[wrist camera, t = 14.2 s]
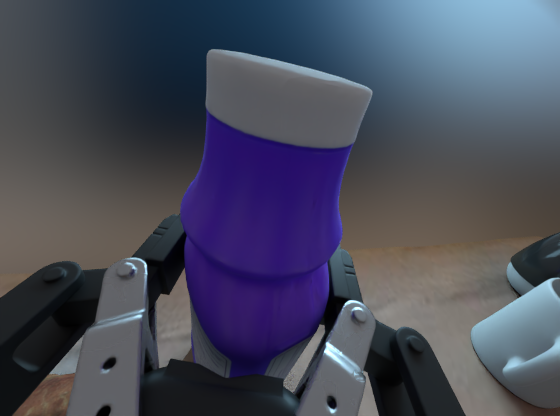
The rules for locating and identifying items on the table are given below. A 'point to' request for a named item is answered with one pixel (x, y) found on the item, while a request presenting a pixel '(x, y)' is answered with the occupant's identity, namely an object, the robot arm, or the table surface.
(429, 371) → the robot arm
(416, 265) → the table surface
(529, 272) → the pump dispenser
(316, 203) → the bottle
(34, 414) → the fossil
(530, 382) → the mug
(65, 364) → the table surface
